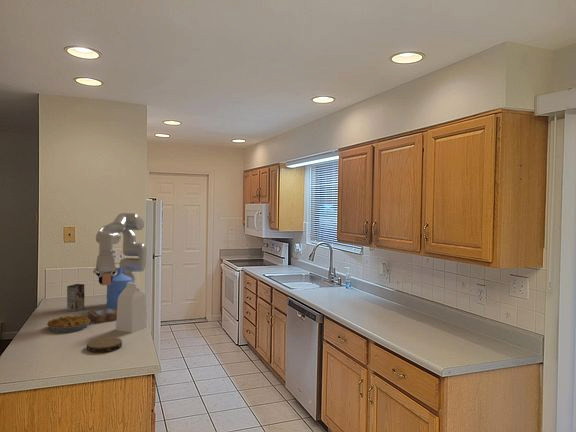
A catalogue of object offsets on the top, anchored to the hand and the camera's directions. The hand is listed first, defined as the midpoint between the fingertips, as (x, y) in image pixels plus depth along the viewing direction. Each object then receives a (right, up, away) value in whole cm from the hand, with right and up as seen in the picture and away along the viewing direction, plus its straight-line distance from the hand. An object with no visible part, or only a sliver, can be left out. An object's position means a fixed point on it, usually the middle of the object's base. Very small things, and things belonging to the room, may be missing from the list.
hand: (105, 282), depth 267 cm
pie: (-13, -23, -19) cm, 32 cm away
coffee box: (-29, -21, +22) cm, 41 cm away
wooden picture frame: (-1, -22, +1) cm, 22 cm away
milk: (+22, -24, -18) cm, 37 cm away
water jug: (0, -22, +22) cm, 31 cm away
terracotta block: (0, -1, 0) cm, 1 cm away
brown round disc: (+21, -25, -51) cm, 60 cm away
